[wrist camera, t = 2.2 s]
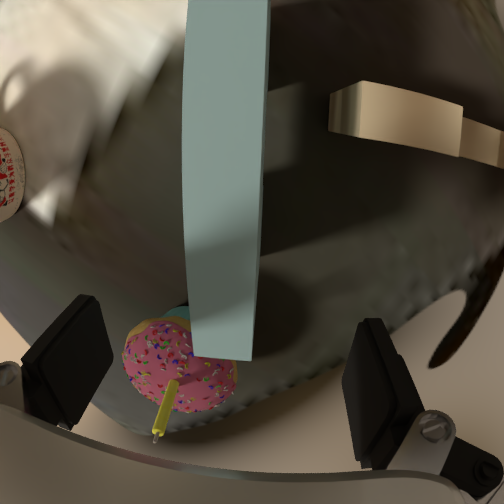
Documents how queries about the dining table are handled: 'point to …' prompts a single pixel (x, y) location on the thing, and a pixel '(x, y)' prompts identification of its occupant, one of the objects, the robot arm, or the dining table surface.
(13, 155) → the teacup with lid
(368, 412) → the robot arm
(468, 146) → the birch slotted plate
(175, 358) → the cupcake
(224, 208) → the teal slotted plate
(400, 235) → the dining table surface
